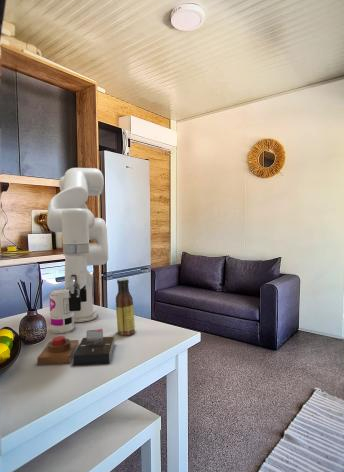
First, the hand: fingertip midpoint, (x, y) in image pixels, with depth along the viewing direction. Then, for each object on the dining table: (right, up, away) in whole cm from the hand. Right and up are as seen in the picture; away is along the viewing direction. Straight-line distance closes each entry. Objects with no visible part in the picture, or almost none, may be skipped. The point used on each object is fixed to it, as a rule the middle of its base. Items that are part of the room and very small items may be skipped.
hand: (78, 306), depth 93 cm
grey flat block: (+5, -12, +1) cm, 13 cm away
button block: (-6, -15, +1) cm, 17 cm away
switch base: (+5, -15, +1) cm, 16 cm away
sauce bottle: (+11, -14, +19) cm, 26 cm away
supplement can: (-13, -14, +23) cm, 30 cm away
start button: (-6, -12, +1) cm, 13 cm away
